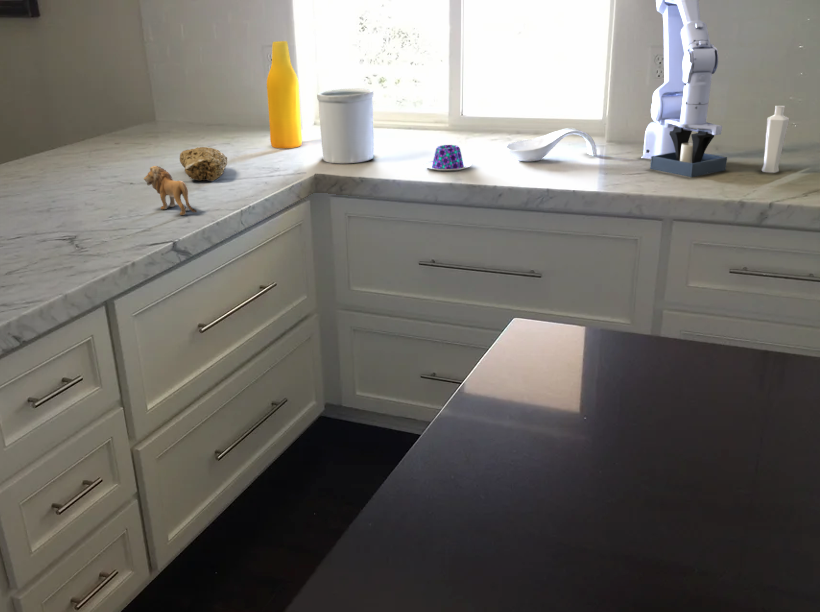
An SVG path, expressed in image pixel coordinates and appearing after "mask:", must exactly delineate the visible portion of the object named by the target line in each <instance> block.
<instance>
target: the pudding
mask: <svg viewBox="0 0 820 612" xmlns="http://www.w3.org/2000/svg"><path fill="white" fill-rule="evenodd" d="M472 165H473V163H472V162H470V161H466V160H463V155H462V151H461V147H460V146H459V145H455V144H443V145H442V144H441V145H438V146H437V147H436V148H435V152H434V156H433V160H431V161H428V162H425V163H424V164H423V166H424V167H425V168H427V169H431V170H435V171H441V172H453V171H454V172H455V171H461V170H463V169H467V168H469V167H471V166H472Z"/></svg>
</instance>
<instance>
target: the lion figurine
mask: <svg viewBox="0 0 820 612" xmlns="http://www.w3.org/2000/svg"><path fill="white" fill-rule="evenodd" d="M143 180H144V182H146V185H147V186H151V187H152V188H153V189H154V190H156V193H157V194H159V196H160V200H161V203H162V205H161V206H160V210H166V209H168V203H167V196H169V207H170V208H173V207H176V204H177V205H178V207H179V208H180V212H179V216H184V215H186V214H187V213H186V211H187V212H188V211H191V212H192V213H198V210H196V209H195V208H193V207H192V205H190V202H189V189H188V187H187V184H186V183H185V182H184V181H183V180H174V179H173V177H172V175H171V174H170V172H168V171H167V170H166V169H165V168H162V167H161V166H158V165H153V166H150V167H149V172H147V174H146V175H145V177H144V178H143ZM181 197H183V200H184V202H185V204H184V203H183V202H182V198H181Z"/></svg>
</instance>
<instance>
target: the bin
mask: <svg viewBox="0 0 820 612" xmlns="http://www.w3.org/2000/svg"><path fill="white" fill-rule="evenodd" d="M727 163H728V156H724V155H717V154H712V153H711V154H710V153H705V152H704V155H703V157H702V160H701V162H697V163H688V162H682V161H677V159H676V152H672V153H666V154H661V155H656V156H651V159H650V167H649V170H654V171H659V172H664V173H668V174H673V175H677V176H683V177H688V178H694V177H699V176H703V175H704V176H705V175H708V174H709V175H710V174H715V173H718V172H719V173H720V172H724V171H726V170H727Z"/></svg>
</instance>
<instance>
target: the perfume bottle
mask: <svg viewBox="0 0 820 612" xmlns="http://www.w3.org/2000/svg"><path fill="white" fill-rule="evenodd" d="M774 106H775V107H774V113H773V115H770V116H768V117H767V119H766V129H765V130H766V132H765V140H764V141H765V144H764V155H763V165H762V167H761V171H762V173H771V174H774V173H775V174H776V173H779V172H780V169H779V168H780V167H779V165H780V162H781V161H780V160H781V156H782V153H783V152H782V151H783V148H784V143H785V140H786V135H787V131H788V126H789V122H790V118H789V117H788V116H787V115H784V114H785V113H784V112H785V108H786V105H774Z"/></svg>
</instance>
